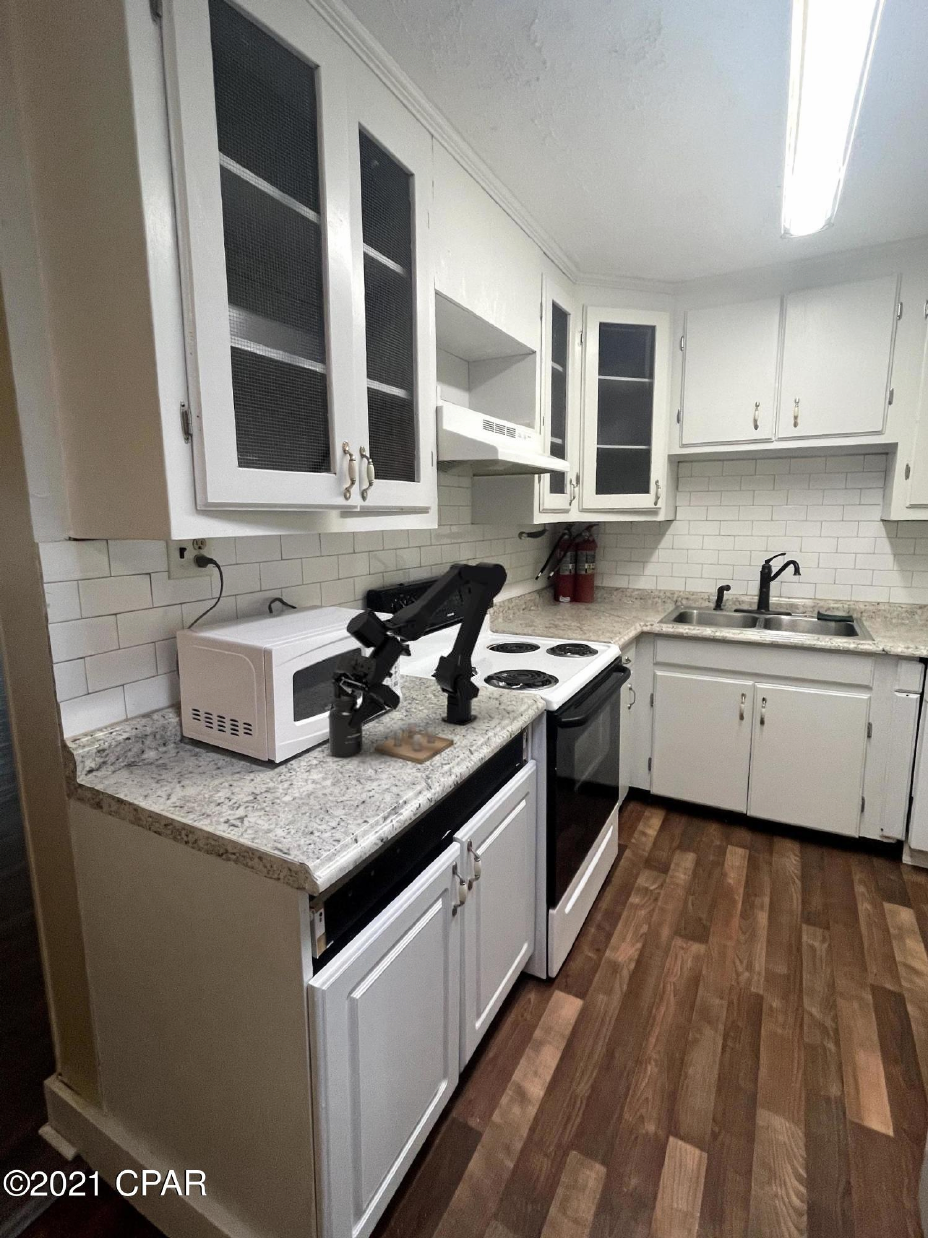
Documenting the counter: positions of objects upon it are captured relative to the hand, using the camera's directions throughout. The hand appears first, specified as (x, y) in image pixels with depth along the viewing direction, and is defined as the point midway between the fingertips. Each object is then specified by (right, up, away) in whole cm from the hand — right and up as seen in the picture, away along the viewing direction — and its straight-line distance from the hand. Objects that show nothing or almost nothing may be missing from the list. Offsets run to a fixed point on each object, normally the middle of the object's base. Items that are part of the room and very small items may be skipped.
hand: (340, 723), depth 120 cm
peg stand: (+15, -6, +4) cm, 17 cm away
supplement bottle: (+1, -7, +2) cm, 7 cm away
